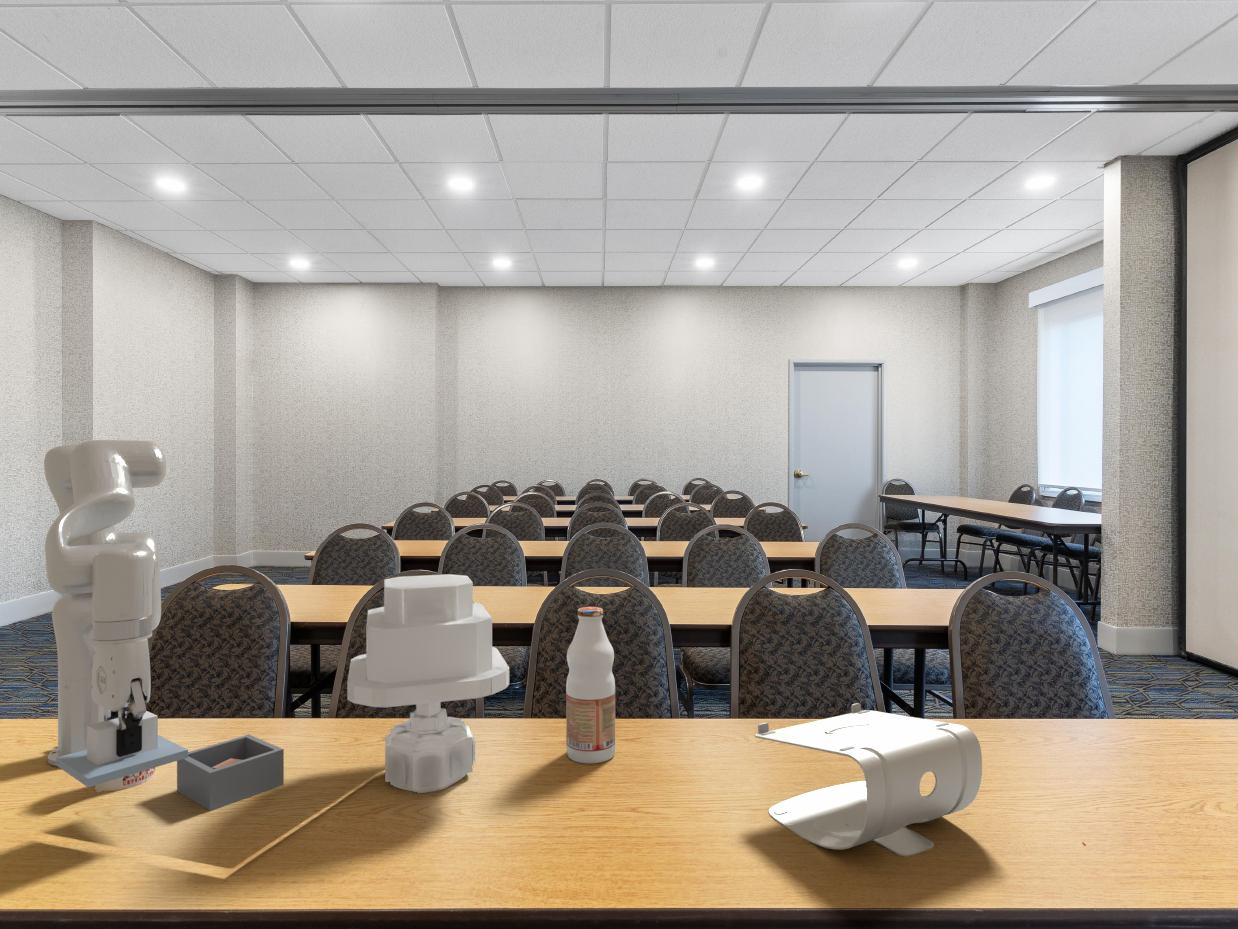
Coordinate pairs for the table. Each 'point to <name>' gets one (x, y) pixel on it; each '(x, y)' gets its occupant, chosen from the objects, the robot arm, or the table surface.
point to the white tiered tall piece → (427, 675)
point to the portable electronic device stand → (881, 779)
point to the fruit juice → (590, 691)
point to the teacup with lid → (126, 781)
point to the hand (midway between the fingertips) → (123, 748)
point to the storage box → (230, 771)
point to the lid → (107, 766)
